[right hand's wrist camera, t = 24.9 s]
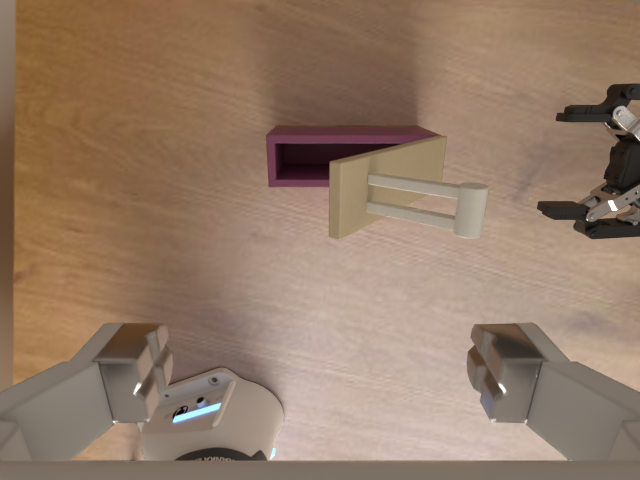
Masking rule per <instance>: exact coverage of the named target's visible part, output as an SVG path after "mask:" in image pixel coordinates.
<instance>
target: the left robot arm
mask: <svg viewBox="0 0 640 480" xmlns="http://www.w3.org/2000/svg"><path fill="white" fill-rule="evenodd" d="M631 100H640V84H614V85H611V86H610V87H609V88H608V90H607V98H606V100H605V101H604V102H603V103H601V104H599V105H570V106H567V107H565V110H564V113H557V116H556V121H563V122H602V123H603V124H604V125H605V126H606V127H607V129H606V130H607V131H608V132H609V133H610V134H611V135H612V136H613V137H614V138H615V139H616V140H617V141H618V143H617V144H616V145H615V147H612V148H611V152H610V163H609V165H608V167H607V169H606V171H605V175H604V178H603V179H606V182H605V183H603V184H602V185H600V186H599V187H597V188H595V189H594V190H592V191H591V192H590V195H589V196H588V197H586V198H585V199H583V200H581V201H580V202H578V203H576V202H573V201H539V202H538V206H537V209H538V210H540V211H542V214H544V215H545V216H547V217H549V218H551V219H554V220H575V221H576V222H575V224H574V226H573V227H574V230H576V231H578V232H580V233H582V234H584V235H586V236H587V237H589V238H591V239H604V238H622V237H640V120H638V119H637V118H636V117H635V116H634V115H633V114H632V113H631V112H630V111H629V110H628V109H627V108H626V107H627V106H628V104H629V102H630V101H631ZM614 192H615V193H616V194H615V195H612V193H614ZM628 204H629V205H631V208H630V210H629V211H627V212H625V213H621V214H617V215H616V218H608V219H599V218H601V217H602V216H604V215H606V214H607V213H609V212H611V211H616V210H620V209H622V208H623V207H625V206H627V205H628Z"/></svg>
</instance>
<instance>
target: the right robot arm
mask: <svg viewBox="0 0 640 480" xmlns="http://www.w3.org/2000/svg"><path fill="white" fill-rule="evenodd" d="M169 338H170V337H169V333H168V328H167V326H166V325H165V324H151V323H107V324H104V325H103V326H102V327H101V328H100V329H99V330H98V331H97V332H96V333H95V334H94V335H93V336H92V338H91V339H90V340H89V341H88V342H87V343H86V344H85V345H84V346H83V347H82V348H81V350H80V351H79V352H78V353H77V354H76V355H75V356H74V357H73V358H72V359H71V360H70V361H69V362H61V363H59V364H57V365H55V366H53V367H51V368H49V369H47V370H45V371H43V372H41V373H39V374H37V375H35V376H33V377H31V378H29V379H26V380H24V381H22V382H20V383H18V384H16V385H14V386H12V387H10V388H8V389H6V390H4V391H2V392H0V480H640V392H638V391H636V390H634V389H632V388H630V387H628V386H626V385H624V384H622V383H620V382H618V381H615V380H613V379H611V378H609V377H607V376H605V375H603V374H601V373H599V372H597V371H595V370H593V369H591V368H589V367H587V366H585V365H583V364H581V363H579V362H570V360H569V359H568V358H567V357H566V356H565V355H564V354H563V353H562V352H561V351H560V350H559V348H558V347H557V346H556V345H555V344H554V343H553V342H552V341H551V340H550V339H549V338H548V336H547V335H546V334H545V333H544V332H543V331H542V330H541V329H540V328H539V327H538V326H537V325H536V324H534V323H513V324H474V326H473V328H472V332H471V337H470V338H471V339H472V341H473V343H474V344H475V345H474V346H473V347H472V348H471V349H470V350H469V351H468V356H467V373H468V376H469V380H470V382H471V384H472V386H473V388H474V389H476V390H477V391H478V392H480V393H481V399H480V402H481V404H482V406H483V408H484V410H485V412H486V414H487V415H488V417H489V419H490V421H491V422H505V423H526V425H527V426H528V427H529V428H531V429H532V430H533V431H534V432H536V433H537V434H538V435H539V436H540V437H542V438H543V439H544V440H545V441H546V442H548V443H549V444H550V445H551V446H552V447H554V448H555V449H556V450H557V451H558V452H560V453H561V454H562V455H563V456H565V457H566V458H567V459H568V460H569V461H270V459H271V458H272V457H273V456H274V455H275V449H274V445H275V442H276V440H277V437H278V435H279V433H280V431H281V429H282V427H283V423H284V412H283V409H282V406H281V404H280V402H279V401H278V399H277V398H276V397H275V396H274V395H273V394H272V393H271V392H270V391H269V390H267V389H266V388H264V387H263V386H261V385H259V384H256V383H254V382H251V381H248V380H244V379H242V378H240V377H238V376H237V375H236V374H235V373H233V372H232V371H230V370H229V369H227V368H223V367H220V368H217V369H214V370H211V371H208V372H205V373H202V374H199V375H197V376H194V377H191V378H188V379H185V380H182V381H180V382H177V383H174V384H171V385H168V384H169V382H170V380H171V376H172V371H173V355H172V351H171V350H170V349H169V348H168V347H167V346H166V345H165V344H166V343H167V341H168V339H169ZM214 378H216V379H214ZM134 422H137V425H138V427H139V430H140V432H141V438H140V444H141V450H142V454H143V457H144V459H145V461H71V460H72V459H73V458H74V457H76V456H77V455H78V454H79V453H80V452H82V451H83V450H84V449H85V448H86V447H88V446H89V445H90V444H91V443H93V442H94V441H95V440H96V439H97V438H99V437H100V436H101V435H102V434H103V433H105V432H106V431H107V430H108V429H110V428H111V427H112V426H113V425H114V423H134Z"/></svg>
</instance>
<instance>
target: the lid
mask: <svg viewBox="0 0 640 480" xmlns="http://www.w3.org/2000/svg"><path fill="white" fill-rule="evenodd" d="M446 141H447V136H435V137H431V138H426V139H422V140H418V141H414V142H410V143H405V144H401V145H397V146H393V147H389V148H384V149H380V150H376V151H372V152H368V153H363V154H359V155H355V156H351V157H347V158H342V159H338V160H334V161H330V173H329V237H330V238H333V239H337V240H341V239H343V238H345V237H347V236H349V235H351V234H353V233H355V232H357V231H359V230H361V229H363V228H365V227H367V226H369V225H371V224H373V223H374V222H376V221H378V220H380V219H382V218H384V217H386V216H388V217H393V218H398V219H402V220H407V221H411V222H416V223H421V224H425V225H430V226H435V227H439V228H444V229H449V230H453V232H454V234H455V235H457V236H459V237H463V238H478V237H480V236H481V233H482V227H483V221H484V215H485V209H486V203H487V197H488V191H489V187H488V186H487V185H484V184H479V183H463V184H460V185H456V184H449V183H442V175H443V167H444V158H445V150H446ZM428 195H436V196H442V197H448V198H454V199H458V201H457V209H456V216H452V215H447V214H442V213H437V212H431V211H426V210H421V209H416V208H411V207H406V206H408V205H410V204H412V203H414V202H416V201H418V200H420V199H422V198H424V197H426V196H428Z"/></svg>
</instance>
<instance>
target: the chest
mask: <svg viewBox="0 0 640 480" xmlns="http://www.w3.org/2000/svg"><path fill="white" fill-rule="evenodd" d="M435 136H441V135H439V134H436V133H434V132H431V131H429V130H426V129H424V128H421V127H419V126H276V127H275V128H274V129H273V130H272V131H271V132H269V133H268V134H267V135H266V141H267V160H268V179H269V180H268V181H269V187H329V173H330V161H334V160H338V159H342V158H347V157H351V156H355V155H359V154H363V153H368V152H372V151H376V150H380V149H384V148H389V147H393V146H397V145H401V144H405V143H410V142H414V141H418V140H422V139H426V138H431V137H435Z"/></svg>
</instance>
